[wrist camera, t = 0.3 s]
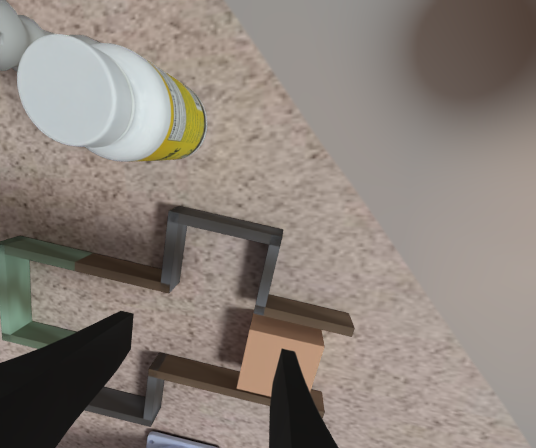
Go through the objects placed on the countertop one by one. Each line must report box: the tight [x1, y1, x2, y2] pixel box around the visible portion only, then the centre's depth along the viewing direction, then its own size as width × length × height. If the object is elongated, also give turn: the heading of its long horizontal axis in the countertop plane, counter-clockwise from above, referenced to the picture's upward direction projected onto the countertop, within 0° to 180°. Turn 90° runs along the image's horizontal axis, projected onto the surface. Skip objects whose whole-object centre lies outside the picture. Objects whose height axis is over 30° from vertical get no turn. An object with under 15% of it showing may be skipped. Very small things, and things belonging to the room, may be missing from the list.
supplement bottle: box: [17, 34, 207, 162], centre depth 15 cm, size 5×5×10 cm
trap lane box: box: [0, 206, 355, 427], centre depth 23 cm, size 22×30×2 cm
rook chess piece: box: [0, 0, 100, 72], centre depth 15 cm, size 4×4×8 cm
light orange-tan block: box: [237, 313, 324, 397], centre depth 22 cm, size 6×6×3 cm
